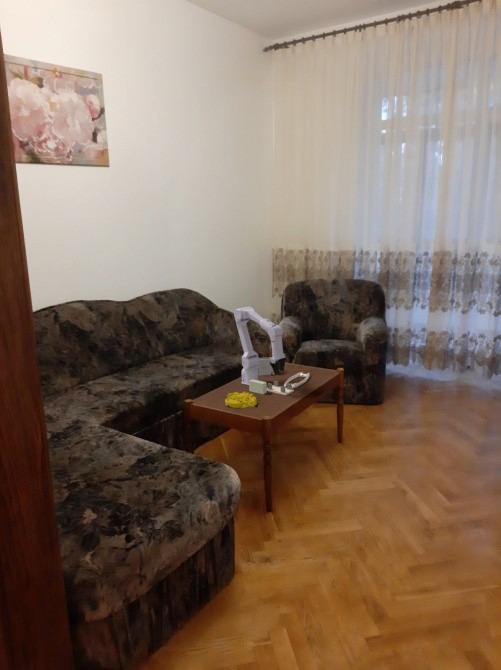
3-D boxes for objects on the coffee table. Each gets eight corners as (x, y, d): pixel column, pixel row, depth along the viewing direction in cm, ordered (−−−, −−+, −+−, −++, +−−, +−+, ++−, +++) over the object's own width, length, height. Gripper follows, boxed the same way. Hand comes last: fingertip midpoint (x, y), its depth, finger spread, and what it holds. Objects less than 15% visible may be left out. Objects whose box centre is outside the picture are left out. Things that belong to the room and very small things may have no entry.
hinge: (278, 371, 306) (277, 355, 304) (280, 374, 301) (280, 358, 299) (256, 374, 303) (255, 358, 300) (258, 376, 298) (257, 360, 295)
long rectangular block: (249, 391, 274) (248, 380, 272) (253, 389, 276) (252, 379, 275) (263, 394, 267) (262, 383, 266) (266, 392, 269) (266, 382, 268)
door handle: (313, 376, 293) (296, 390, 272) (298, 375, 298) (280, 388, 277) (313, 372, 293) (296, 385, 272) (297, 370, 298) (280, 383, 276)
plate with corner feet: (265, 390, 273) (265, 383, 272) (273, 386, 278) (273, 380, 277) (285, 395, 264) (285, 388, 263) (293, 391, 269) (293, 384, 268)
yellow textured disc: (223, 409, 250) (223, 401, 249) (227, 397, 266) (226, 390, 265) (256, 408, 249) (256, 400, 248) (258, 397, 265) (257, 389, 264)
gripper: (279, 351, 258) (281, 376, 260) (288, 345, 270) (291, 369, 273) (266, 351, 261) (269, 376, 263) (276, 345, 273) (279, 369, 276)
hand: (279, 372), depth 268 cm, fingers open, 7 cm apart
